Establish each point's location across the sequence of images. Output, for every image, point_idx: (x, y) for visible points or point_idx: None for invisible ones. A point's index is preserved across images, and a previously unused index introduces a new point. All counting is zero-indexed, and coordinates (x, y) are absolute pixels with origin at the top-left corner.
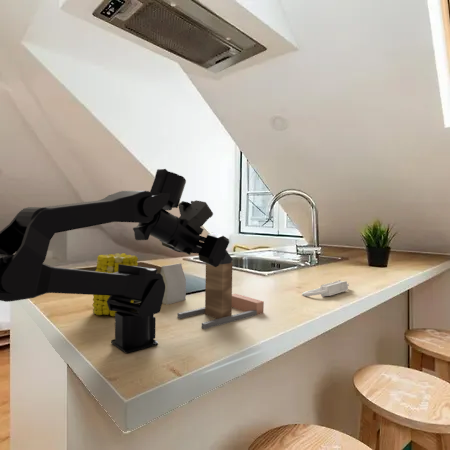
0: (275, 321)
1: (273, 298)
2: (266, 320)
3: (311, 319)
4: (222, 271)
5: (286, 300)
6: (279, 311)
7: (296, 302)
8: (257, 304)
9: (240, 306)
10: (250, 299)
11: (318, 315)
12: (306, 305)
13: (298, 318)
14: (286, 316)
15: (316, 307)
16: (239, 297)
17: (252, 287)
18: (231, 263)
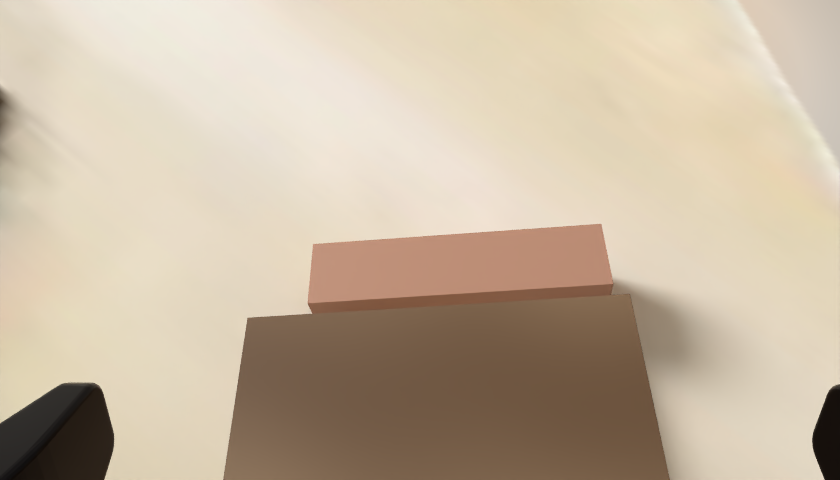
0: (764, 312)
1: (385, 58)
2: (720, 342)
3: (817, 141)
4: None
5: (458, 35)
6: (603, 175)
7: (518, 23)
8: (611, 284)
9: None
10: (507, 259)
11: (769, 77)
12: (590, 20)
13: (770, 179)
14: (706, 204)
15: (645, 9)
16: (415, 285)
17: (148, 17)
18: (632, 323)
